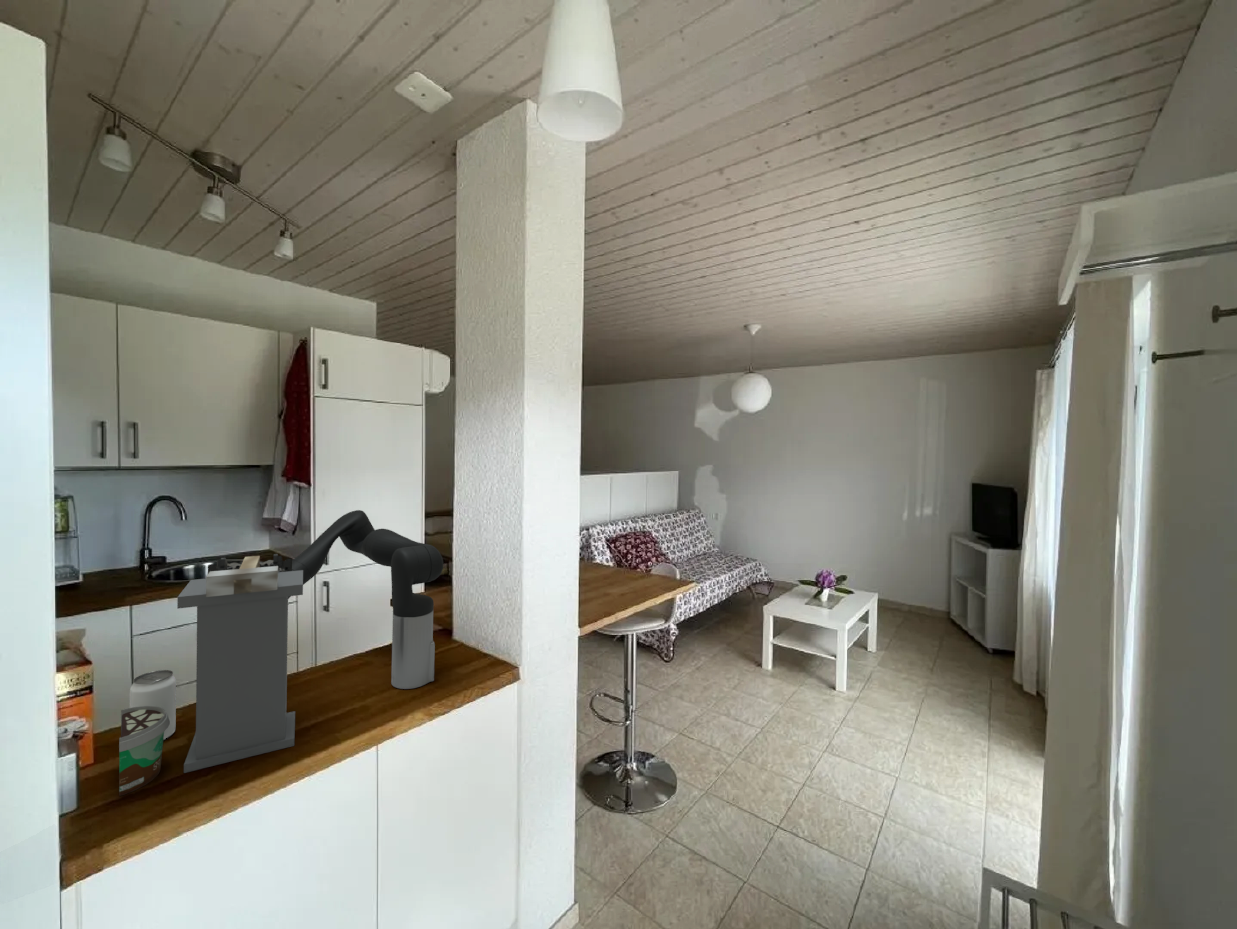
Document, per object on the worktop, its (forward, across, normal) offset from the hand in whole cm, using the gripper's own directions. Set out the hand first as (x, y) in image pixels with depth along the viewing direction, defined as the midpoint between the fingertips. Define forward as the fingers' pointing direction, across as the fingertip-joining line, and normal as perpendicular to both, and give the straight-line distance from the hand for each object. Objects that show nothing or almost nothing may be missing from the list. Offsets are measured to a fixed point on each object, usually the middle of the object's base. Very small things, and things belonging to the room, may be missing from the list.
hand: (249, 560), depth 99 cm
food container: (-9, +13, -34) cm, 38 cm away
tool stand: (-11, 0, -33) cm, 34 cm away
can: (-20, +15, -28) cm, 37 cm away
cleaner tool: (+3, 0, -5) cm, 5 cm away
